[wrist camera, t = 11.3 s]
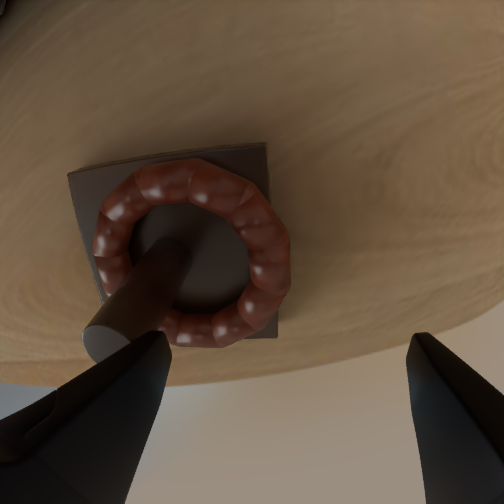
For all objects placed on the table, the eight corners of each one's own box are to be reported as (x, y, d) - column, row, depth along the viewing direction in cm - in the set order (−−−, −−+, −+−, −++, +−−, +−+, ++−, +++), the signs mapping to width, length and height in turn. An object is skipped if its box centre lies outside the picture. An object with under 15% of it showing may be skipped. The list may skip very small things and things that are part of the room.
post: (278, 323, 16) (274, 444, 9) (122, 321, 17) (65, 415, 10) (266, 141, 12) (253, 176, 6) (80, 168, 13) (-31, 220, 7)
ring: (292, 331, 15) (292, 354, 13) (131, 330, 16) (119, 349, 14) (284, 147, 11) (285, 153, 10) (87, 173, 12) (67, 182, 11)
